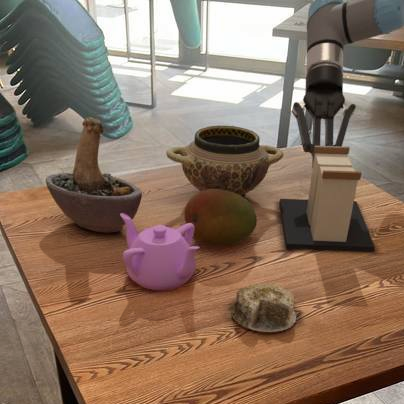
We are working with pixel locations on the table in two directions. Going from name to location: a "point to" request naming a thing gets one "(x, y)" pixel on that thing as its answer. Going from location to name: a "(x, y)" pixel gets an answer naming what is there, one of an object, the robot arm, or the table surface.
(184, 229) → the teapot
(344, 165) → the cream rectangular block
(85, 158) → the planter
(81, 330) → the table surface
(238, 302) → the cake
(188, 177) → the ceramic bowl
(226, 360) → the table surface
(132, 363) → the table surface
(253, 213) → the fruit
